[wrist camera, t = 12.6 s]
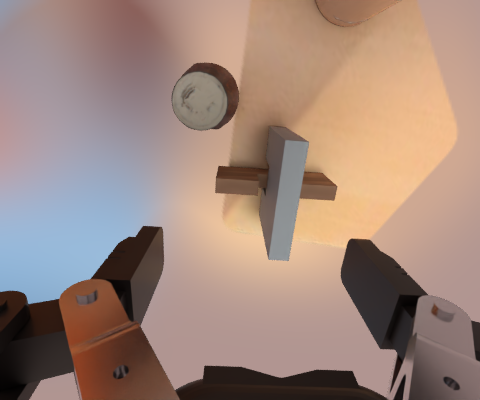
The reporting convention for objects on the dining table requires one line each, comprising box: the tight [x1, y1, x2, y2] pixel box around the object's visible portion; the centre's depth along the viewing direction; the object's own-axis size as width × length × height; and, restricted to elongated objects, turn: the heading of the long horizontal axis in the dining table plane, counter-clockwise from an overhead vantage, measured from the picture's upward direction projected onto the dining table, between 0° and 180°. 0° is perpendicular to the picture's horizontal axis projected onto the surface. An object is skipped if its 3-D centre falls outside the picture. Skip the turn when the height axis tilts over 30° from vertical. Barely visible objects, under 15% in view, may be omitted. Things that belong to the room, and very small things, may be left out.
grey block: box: [259, 126, 309, 261], centre depth 36 cm, size 14×2×13 cm, turn 175°
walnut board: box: [215, 166, 337, 201], centre depth 39 cm, size 2×16×6 cm, turn 85°
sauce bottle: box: [172, 63, 239, 130], centre depth 28 cm, size 6×6×20 cm
